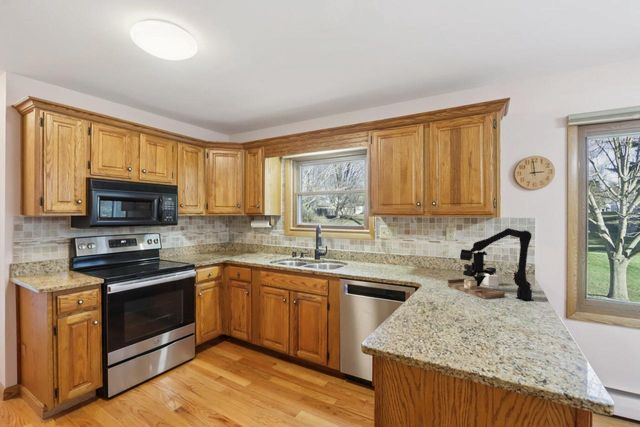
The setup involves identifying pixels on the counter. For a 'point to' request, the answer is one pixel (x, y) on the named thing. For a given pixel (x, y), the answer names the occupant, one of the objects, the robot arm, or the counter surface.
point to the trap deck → (475, 290)
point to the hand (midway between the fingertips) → (478, 286)
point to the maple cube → (470, 284)
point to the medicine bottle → (491, 278)
